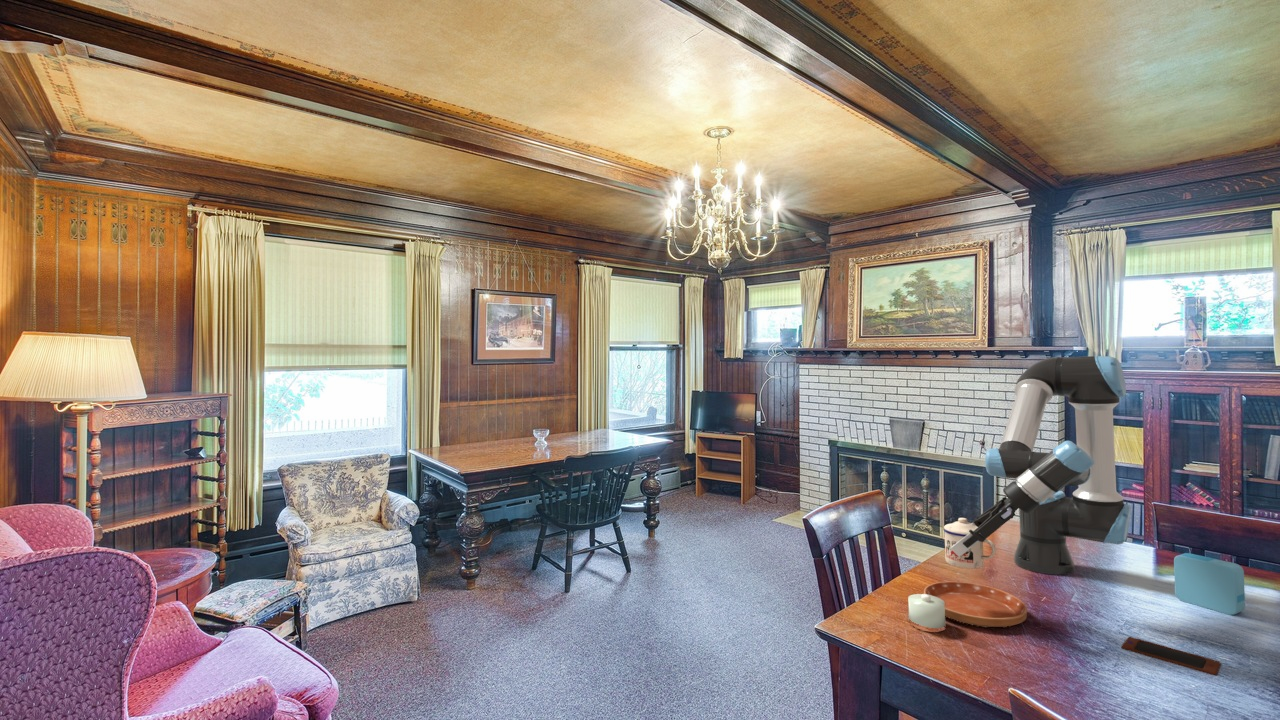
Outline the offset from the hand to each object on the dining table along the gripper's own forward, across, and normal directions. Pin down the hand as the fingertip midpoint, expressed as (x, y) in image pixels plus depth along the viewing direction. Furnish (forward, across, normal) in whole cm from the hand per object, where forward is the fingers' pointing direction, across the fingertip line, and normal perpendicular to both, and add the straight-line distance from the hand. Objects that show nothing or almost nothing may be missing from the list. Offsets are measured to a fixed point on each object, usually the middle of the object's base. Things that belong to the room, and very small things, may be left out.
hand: (956, 546), depth 148 cm
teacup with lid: (+1, 0, -5) cm, 5 cm away
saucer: (+9, 0, -14) cm, 17 cm away
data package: (-27, +32, -50) cm, 65 cm away
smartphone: (-17, -4, -40) cm, 44 cm away
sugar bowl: (+16, -14, -7) cm, 22 cm away
